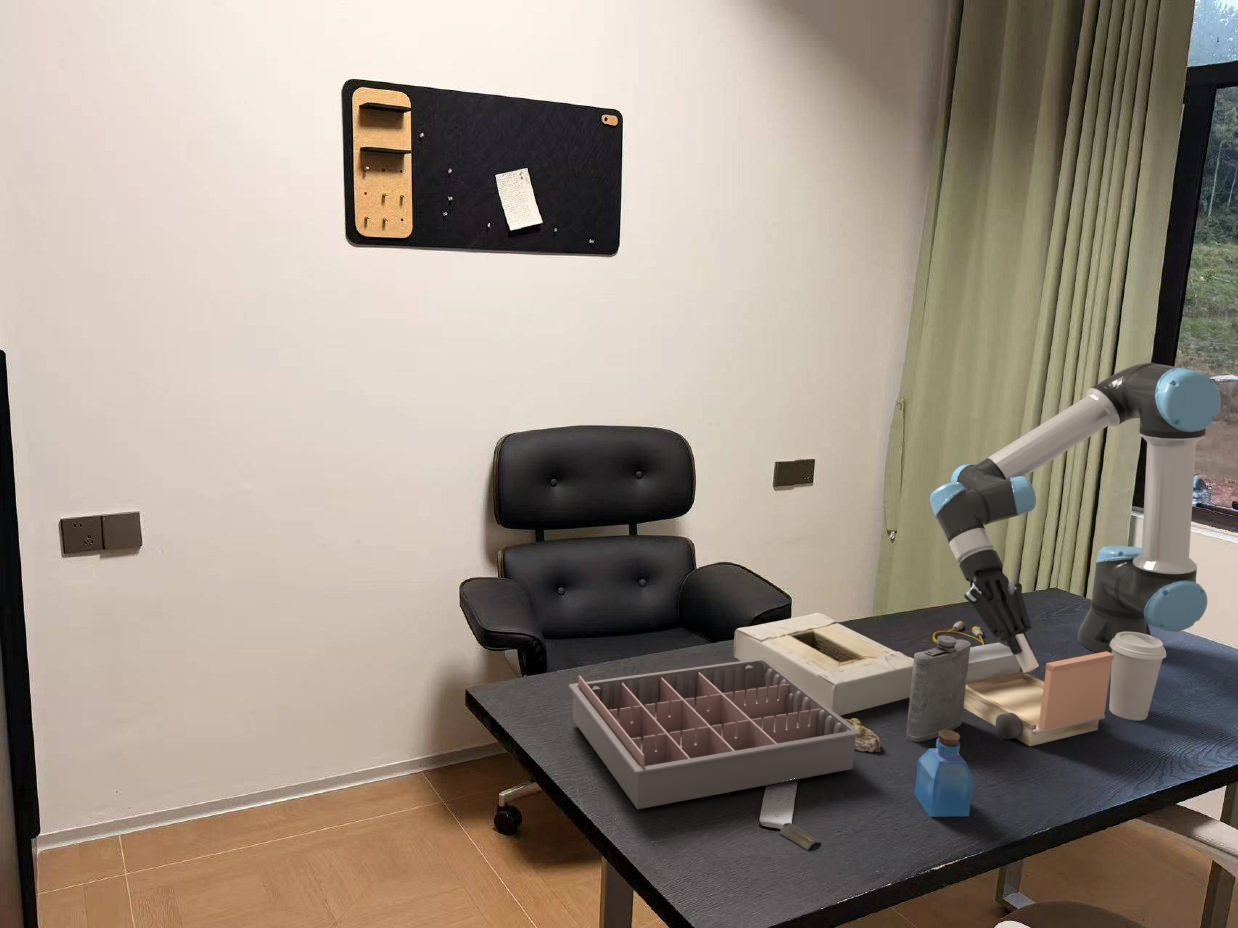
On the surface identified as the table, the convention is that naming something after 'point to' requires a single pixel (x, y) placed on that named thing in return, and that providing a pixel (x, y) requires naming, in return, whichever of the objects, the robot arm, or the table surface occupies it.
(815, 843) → the block
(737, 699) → the organizer tray
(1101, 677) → the tailgate
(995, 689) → the truck bed
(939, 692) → the flask
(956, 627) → the extension cord
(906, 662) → the box
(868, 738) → the mineral rock
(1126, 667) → the coffee cup
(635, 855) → the table surface
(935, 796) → the perfume bottle
